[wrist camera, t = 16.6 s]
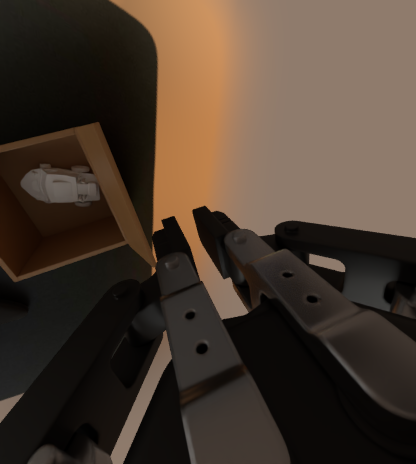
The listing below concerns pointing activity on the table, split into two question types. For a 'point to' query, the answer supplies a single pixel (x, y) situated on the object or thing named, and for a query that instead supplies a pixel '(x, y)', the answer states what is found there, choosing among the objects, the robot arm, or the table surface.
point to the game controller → (11, 311)
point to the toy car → (62, 185)
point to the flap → (115, 188)
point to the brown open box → (49, 210)
